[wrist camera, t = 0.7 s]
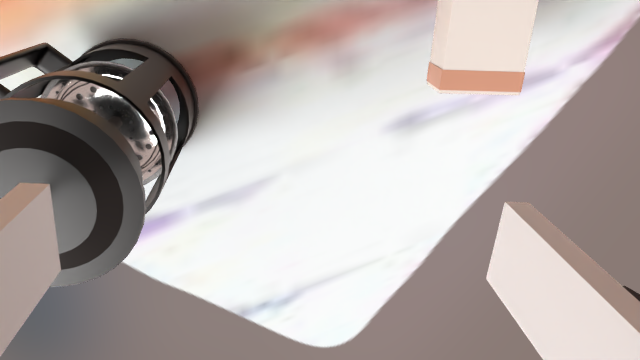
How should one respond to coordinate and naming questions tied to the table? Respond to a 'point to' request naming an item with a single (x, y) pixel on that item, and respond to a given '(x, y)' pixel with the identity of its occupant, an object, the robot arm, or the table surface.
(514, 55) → the cream rectangular bar
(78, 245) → the french press
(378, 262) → the table surface
